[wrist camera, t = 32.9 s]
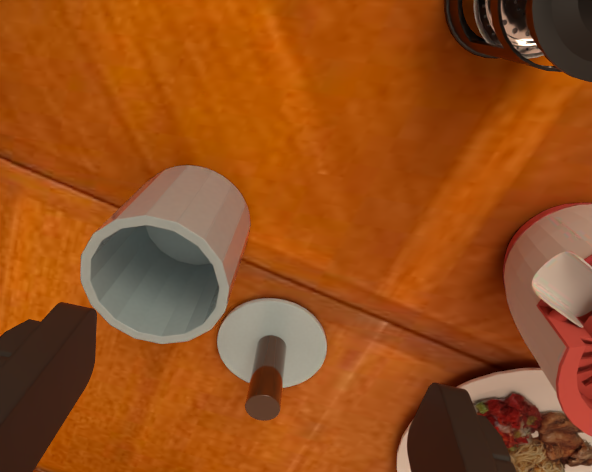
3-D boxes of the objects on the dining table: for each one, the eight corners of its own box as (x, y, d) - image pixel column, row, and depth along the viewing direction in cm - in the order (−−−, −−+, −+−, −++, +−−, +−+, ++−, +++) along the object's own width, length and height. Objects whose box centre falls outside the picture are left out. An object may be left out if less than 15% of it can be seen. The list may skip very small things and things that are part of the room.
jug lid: (211, 369, 56) (190, 439, 47) (228, 283, 50) (207, 344, 41) (312, 390, 56) (310, 463, 47) (339, 308, 51) (343, 373, 42)
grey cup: (134, 255, 49) (79, 327, 38) (142, 152, 44) (81, 200, 33) (240, 278, 50) (216, 355, 39) (259, 180, 45) (239, 236, 34)
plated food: (506, 547, 68) (515, 572, 65) (348, 460, 62) (349, 483, 59) (689, 436, 57) (710, 460, 54) (518, 315, 50) (531, 334, 47)
